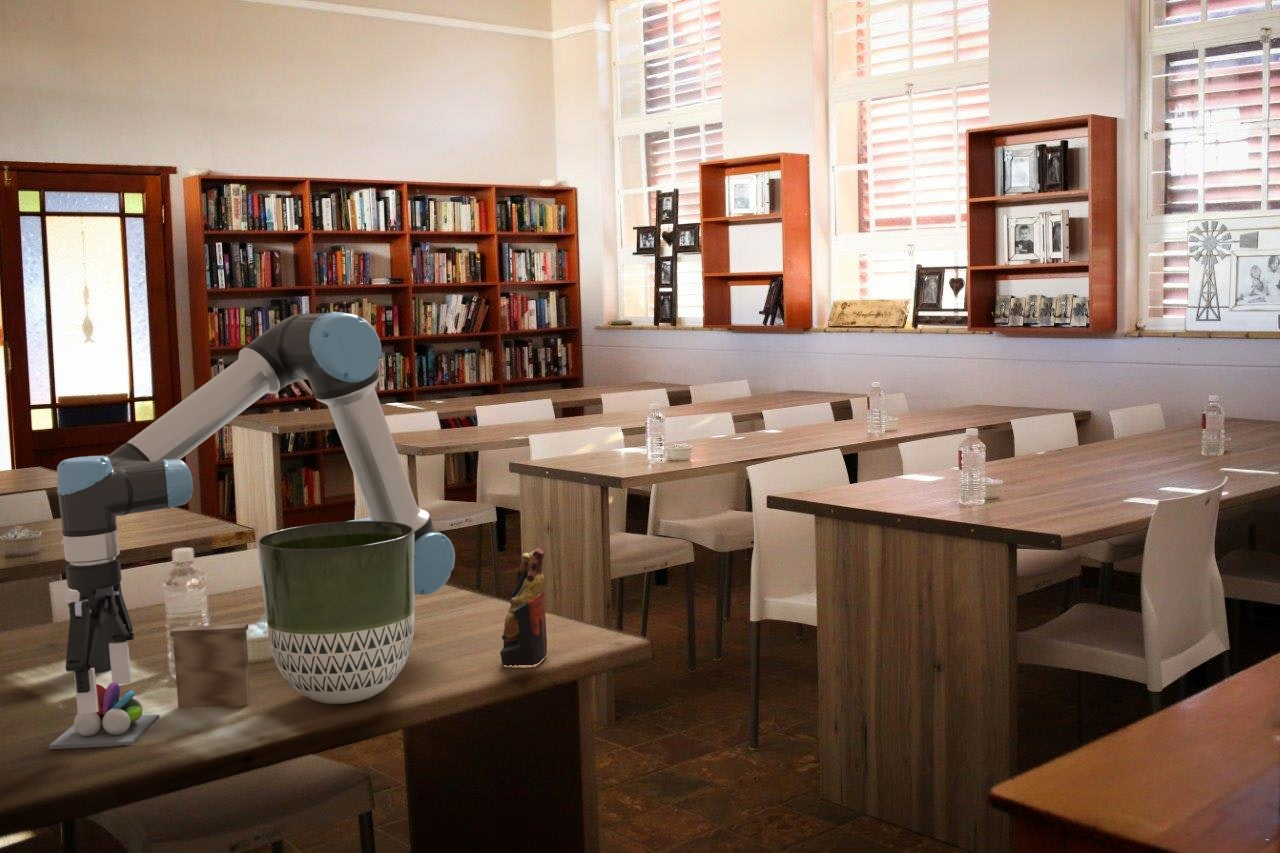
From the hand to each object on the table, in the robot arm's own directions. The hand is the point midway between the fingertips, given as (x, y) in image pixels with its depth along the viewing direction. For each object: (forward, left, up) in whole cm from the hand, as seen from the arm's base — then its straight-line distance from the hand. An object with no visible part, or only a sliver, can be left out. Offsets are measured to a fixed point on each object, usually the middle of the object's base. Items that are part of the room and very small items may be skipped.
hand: (105, 697), depth 190 cm
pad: (0, 0, -5) cm, 6 cm away
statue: (-62, -28, -6) cm, 68 cm away
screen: (-13, -11, -5) cm, 18 cm away
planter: (-34, -12, -6) cm, 36 cm away
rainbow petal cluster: (0, 0, -5) cm, 5 cm away
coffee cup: (+15, -37, -6) cm, 40 cm away
